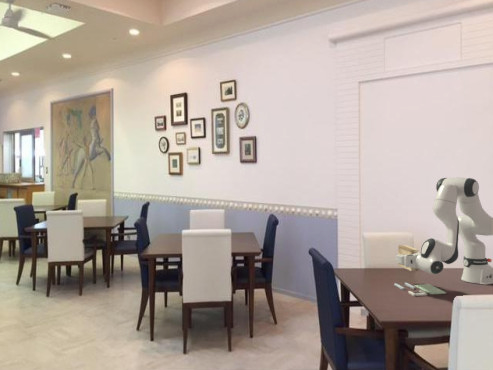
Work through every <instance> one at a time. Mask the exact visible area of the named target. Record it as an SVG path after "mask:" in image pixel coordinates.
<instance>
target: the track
mask: <svg viewBox="0 0 493 370" xmlns="http://www.w3.org/2000/svg"><path fill="white" fill-rule="evenodd" d="M394 286H395V287H396V288H399V289H400V290H402V291H403V290H405V287H404V286H406V287H409V288H410V289H412V290H416V287H415V285H412V284H410V283H408V282H404V286H403V285H400V284H399V283H394Z"/></svg>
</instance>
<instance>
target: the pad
mask: <svg viewBox="0 0 493 370" xmlns="http://www.w3.org/2000/svg"><path fill="white" fill-rule="evenodd" d="M414 287H415V288H417V289H419V290H422V291H424V292H426V293H427V294H429V295H442V294H444V295H445V294H447V292H446V291H444V290H442V289H440V288H439V287H435V286H434V285H432V284H430V283H429V284H428V283H425V284H414Z"/></svg>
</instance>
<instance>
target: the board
mask: <svg viewBox="0 0 493 370" xmlns="http://www.w3.org/2000/svg"><path fill="white" fill-rule="evenodd" d="M397 247H398V254H397V255H402V254H404V255H411V254H415V253H418V252H419V249H417V248H415V247H413V246H412V247H411V246H409V245H407V244H403V245H401V244H400V245H398V246H397ZM397 263H398V262H397ZM397 265H398V266H399V267H401V268H404V269H406V270H408V271H410V272H413V271H414V272H416V271H417V272H418V271H419V269H417V268H411V267H405V265H402V264H400V263H398V264H397Z"/></svg>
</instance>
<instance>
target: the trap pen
mask: <svg viewBox="0 0 493 370" xmlns="http://www.w3.org/2000/svg"><path fill="white" fill-rule="evenodd" d="M407 292H408V294H409V295H411V296H413V297H420V296H423V297H424V296H428V293H427V292H425V291H423V290H421V289H419V291H411V290H408V291H407Z"/></svg>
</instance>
